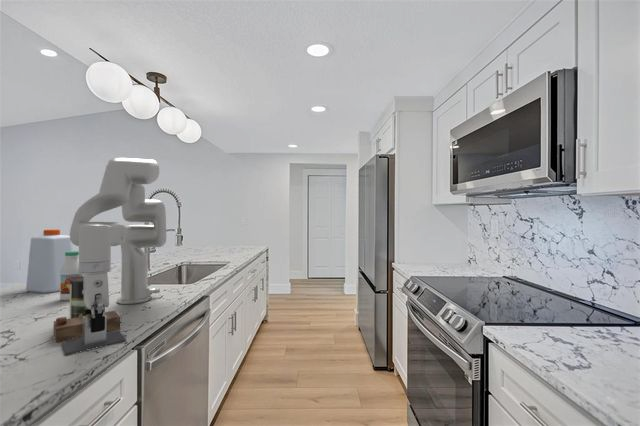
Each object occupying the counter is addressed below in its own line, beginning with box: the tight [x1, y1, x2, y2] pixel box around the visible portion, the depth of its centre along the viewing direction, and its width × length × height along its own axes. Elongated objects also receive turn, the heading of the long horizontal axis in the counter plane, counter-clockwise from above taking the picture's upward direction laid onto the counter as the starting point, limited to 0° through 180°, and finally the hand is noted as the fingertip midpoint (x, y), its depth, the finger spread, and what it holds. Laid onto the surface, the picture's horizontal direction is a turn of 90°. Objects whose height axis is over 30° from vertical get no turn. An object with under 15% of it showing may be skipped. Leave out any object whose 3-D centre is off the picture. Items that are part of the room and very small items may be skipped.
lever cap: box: [81, 314, 107, 346], centre depth 93 cm, size 5×5×8 cm
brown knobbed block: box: [53, 310, 121, 343], centre depth 101 cm, size 16×8×6 cm, turn 133°
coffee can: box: [69, 275, 106, 319], centre depth 113 cm, size 10×10×14 cm
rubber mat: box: [61, 330, 127, 357], centre depth 93 cm, size 14×9×1 cm, turn 133°
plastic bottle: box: [25, 228, 74, 294], centre depth 152 cm, size 15×15×28 cm
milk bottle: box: [59, 250, 84, 301], centre depth 137 cm, size 8×8×20 cm
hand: (94, 326), depth 93 cm, fingers open, 9 cm apart
